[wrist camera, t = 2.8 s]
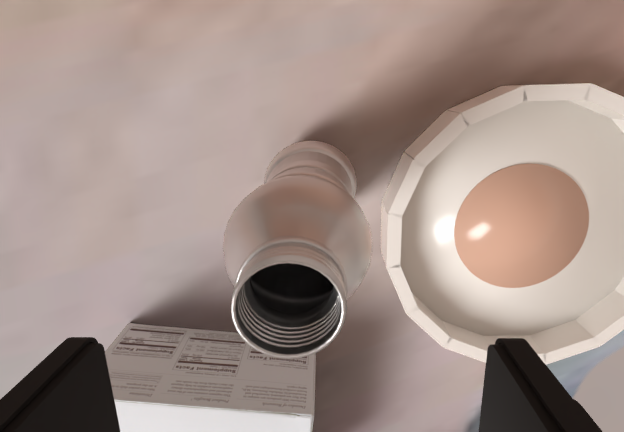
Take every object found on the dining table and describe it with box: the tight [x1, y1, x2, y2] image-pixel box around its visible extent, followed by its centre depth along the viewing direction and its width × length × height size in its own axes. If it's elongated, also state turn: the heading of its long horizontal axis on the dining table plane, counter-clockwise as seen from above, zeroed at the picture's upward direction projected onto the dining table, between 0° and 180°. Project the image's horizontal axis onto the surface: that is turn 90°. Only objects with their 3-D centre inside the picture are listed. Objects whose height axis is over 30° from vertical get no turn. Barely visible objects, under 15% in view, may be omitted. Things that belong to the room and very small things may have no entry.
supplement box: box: [105, 323, 316, 432], centre depth 34 cm, size 17×13×9 cm
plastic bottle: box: [223, 141, 372, 359], centre depth 22 cm, size 6×7×20 cm
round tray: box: [380, 83, 624, 364], centre depth 31 cm, size 21×21×4 cm
